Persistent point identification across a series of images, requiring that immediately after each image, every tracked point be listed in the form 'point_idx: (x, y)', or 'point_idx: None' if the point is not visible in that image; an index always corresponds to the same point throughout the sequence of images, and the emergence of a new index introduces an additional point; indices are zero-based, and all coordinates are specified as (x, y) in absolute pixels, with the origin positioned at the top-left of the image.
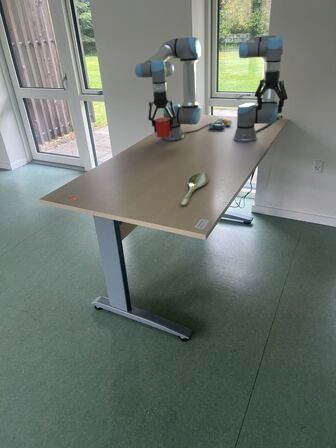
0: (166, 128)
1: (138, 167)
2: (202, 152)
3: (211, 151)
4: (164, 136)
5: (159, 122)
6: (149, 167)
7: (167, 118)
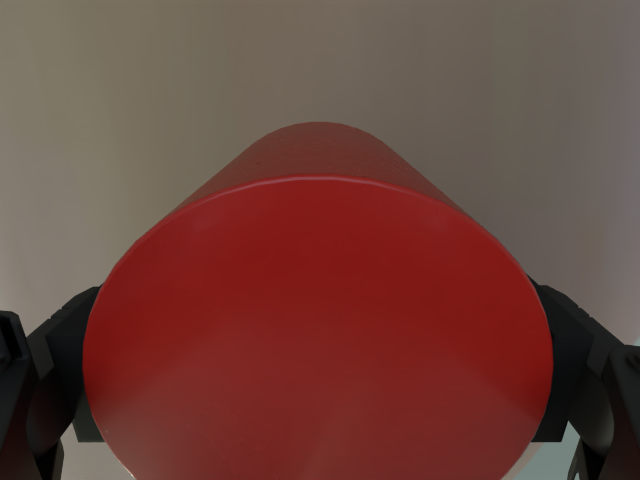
0: (228, 164)
1: (539, 47)
2: (71, 295)
3: (11, 304)
4: (294, 124)
5: (401, 178)
6: (447, 33)
7: (174, 460)
